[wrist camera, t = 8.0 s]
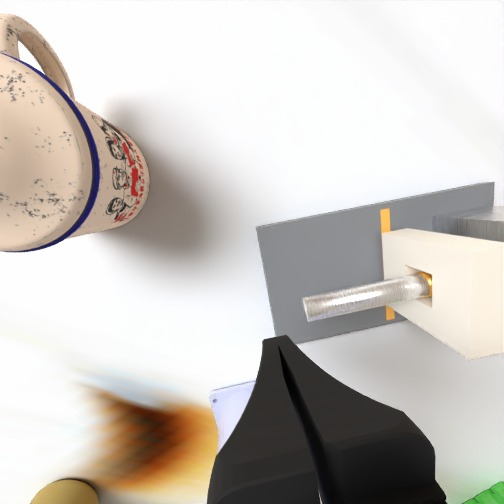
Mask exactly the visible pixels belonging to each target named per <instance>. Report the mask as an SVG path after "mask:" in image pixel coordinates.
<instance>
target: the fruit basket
mask: <svg viewBox="0 0 504 504" xmlns="http://www.w3.org/2000/svg"><path fill="white" fill-rule="evenodd" d="M463 504H504V483H503V482H499V483H497V484H496V485H494V486H492V487H491V488H490V490H489V489H488V490H485V491H484V492H482V493H480V494H479V495H477V496H476V497H475V498H474V499H470V500H468V501H467V502H465V503H463Z"/></svg>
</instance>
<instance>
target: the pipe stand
mask: <svg viewBox="0 0 504 504" xmlns="http://www.w3.org/2000/svg"><path fill="white" fill-rule="evenodd" d="M432 232H437V233H444V234H450V235H457V236H464V237H470V238H477V239H484V240H491V241H497V242H504V206H481V207H476V208H471V209H466V210H461V211H456V212H451V213H446V214H441V215H436V216H432ZM429 296H432V274H429V273H426V272H424V271H421V272H416V273H414V274H410V275H405V276H401V277H396V278H391V279H386V280H382V281H377V282H372V283H367V284H363V285H358V286H353V287H348V288H344V289H339V290H334V291H329V292H325V293H320V294H315V295H310V296H306V297H301V306H302V310H303V314H304V317H305V319H306V321H307V322H310V321H314V320H319V319H324V318H328V317H333V316H338V315H342V314H347V313H352V312H356V311H361V310H366V309H370V308H375V307H380V306H384V305H389V304H393V303H398V302H403V301H407V300H412V299H417V298H421V297H429Z"/></svg>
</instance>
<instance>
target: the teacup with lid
mask: <svg viewBox="0 0 504 504" xmlns="http://www.w3.org/2000/svg"><path fill="white" fill-rule="evenodd" d="M18 40H19V41H20V42H21V43H22V44H23V45H24V46H25V47H26V48H27V49H28V50H29V51H30V53H31V54H32V55H33V56H34V58H35V59H36V60H37V62H38V63H39V65H40V66H41V68H42V70H43V72H44V73H45V75H44V74H43V73H42V72H40V71H39V70H37V69H35V68H34V67H32V66H31V65H29V64H27V63H25V62H23V61H21V60H20V57H19V51H18ZM149 186H150V178H149V171H148V167H147V164H146V161H145V159H144V156H143V154H142V153H141V151H140V149H139V148H138V146H137V145H136V144H135V143H134V141H133V140H132V139H131V138H130V137H129V136H128V135H126V134H125V133H124V132H123V131H121V130H120V129H118V128H117V127H115V126H114V125H112V124H111V123H109V122H108V121H106V120H105V119H103V118H101V117H100V116H98V115H97V114H95V113H94V112H92V111H91V110H89V109H88V108H86V107H84V106H83V105H81V104H80V103H78V102H77V101H75V98H74V93H73V89H72V86H71V83H70V80H69V77H68V75H67V73H66V71H65V69H64V67H63V65H62V63H61V61H60V60H59V58H58V56H57V55H56V53H55V52H54V50H53V49H52V48H51V46H50V45H49V43H48V42H47V41H46V40H45V39H44V37H43V36H42V35H41V34H40V33H39V32H38V31H37V30H36V29H35V28H34V27H33V26H32V25H30V24H29V23H28V22H27V21H25V20H23V19H22V18H20V17H18V16H15V15H11V14H0V251H3V252H29V251H35V250H40V249H44V248H47V247H50V246H52V245H55V244H57V243H59V242H61V241H63V240H64V239H68V238H72V237H76V236H81V235H85V234H90V233H94V232H99V231H103V230H108V229H112V228H116V227H119V226H122V225H124V224H126V223H127V222H129V221H131V220H132V219H133V218H134V217H135V216H136V215H137V214H138V213H139V212H140V211H141V209H142V208H143V206H144V204H145V202H146V200H147V197H148V193H149Z"/></svg>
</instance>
